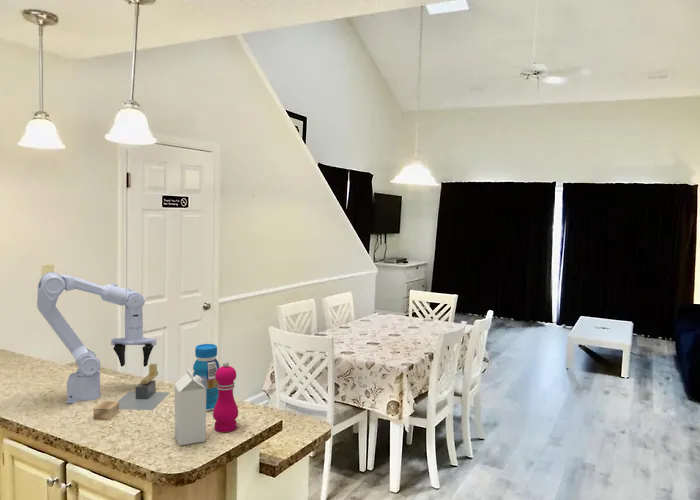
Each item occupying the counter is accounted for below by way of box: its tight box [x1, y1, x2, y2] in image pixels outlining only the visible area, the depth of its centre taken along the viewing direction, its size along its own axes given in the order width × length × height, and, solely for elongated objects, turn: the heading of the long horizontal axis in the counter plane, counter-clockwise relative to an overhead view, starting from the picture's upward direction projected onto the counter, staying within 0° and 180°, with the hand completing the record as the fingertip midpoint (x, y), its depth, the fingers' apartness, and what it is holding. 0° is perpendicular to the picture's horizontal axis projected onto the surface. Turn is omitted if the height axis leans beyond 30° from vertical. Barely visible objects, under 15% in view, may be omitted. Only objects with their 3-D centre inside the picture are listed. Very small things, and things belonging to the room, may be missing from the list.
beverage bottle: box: [192, 343, 220, 412], centre depth 174 cm, size 8×8×20 cm
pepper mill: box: [212, 360, 239, 433], centre depth 158 cm, size 7×7×20 cm
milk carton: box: [174, 368, 207, 447], centre depth 150 cm, size 7×7×19 cm
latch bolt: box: [140, 363, 159, 384], centre depth 185 cm, size 2×10×4 cm, turn 0°
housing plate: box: [116, 380, 171, 411], centre depth 177 cm, size 14×16×5 cm
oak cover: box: [93, 401, 120, 421], centre depth 163 cm, size 5×6×4 cm
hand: (134, 365), depth 186 cm, fingers open, 7 cm apart
